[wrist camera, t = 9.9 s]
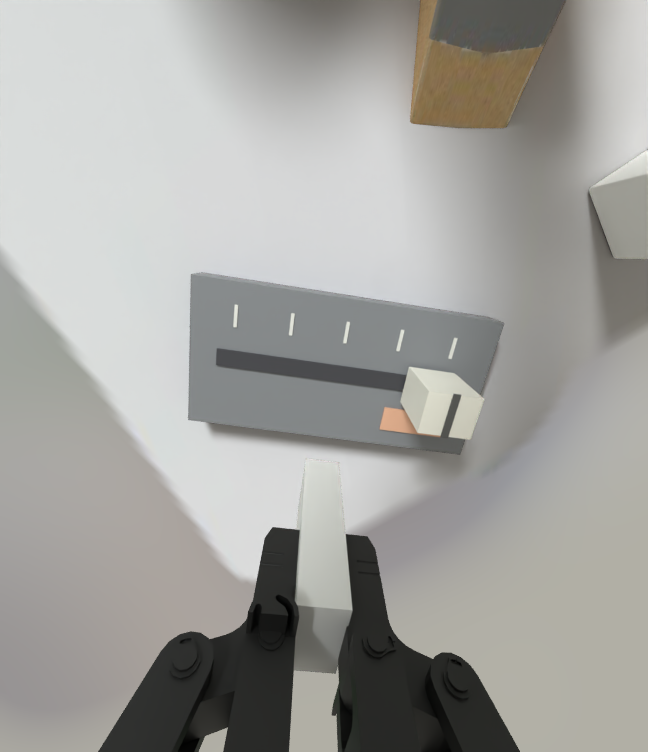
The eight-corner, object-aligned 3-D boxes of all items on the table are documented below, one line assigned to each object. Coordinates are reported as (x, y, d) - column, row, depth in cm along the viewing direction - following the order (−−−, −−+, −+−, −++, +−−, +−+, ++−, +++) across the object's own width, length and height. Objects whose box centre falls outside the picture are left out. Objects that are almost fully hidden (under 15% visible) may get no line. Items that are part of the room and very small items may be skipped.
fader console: (202, 272, 31) (190, 274, 28) (488, 317, 33) (505, 323, 30) (198, 406, 36) (187, 420, 33) (449, 439, 38) (460, 455, 35)
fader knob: (409, 365, 31) (429, 390, 25) (455, 372, 31) (485, 398, 26) (399, 402, 32) (417, 434, 27) (443, 408, 33) (470, 441, 27)
